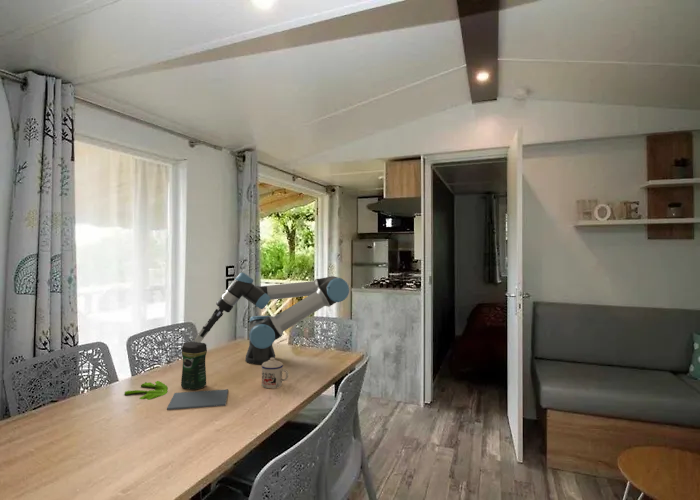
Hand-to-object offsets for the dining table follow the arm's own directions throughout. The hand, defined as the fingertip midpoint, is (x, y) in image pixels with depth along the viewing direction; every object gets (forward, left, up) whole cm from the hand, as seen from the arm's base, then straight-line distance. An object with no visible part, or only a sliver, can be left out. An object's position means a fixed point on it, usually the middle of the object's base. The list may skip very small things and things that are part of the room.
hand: (198, 338), depth 180 cm
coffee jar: (-1, +21, -16) cm, 26 cm away
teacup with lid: (-34, +26, -16) cm, 45 cm away
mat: (-5, +36, -15) cm, 39 cm away
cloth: (+17, +21, -16) cm, 31 cm away
